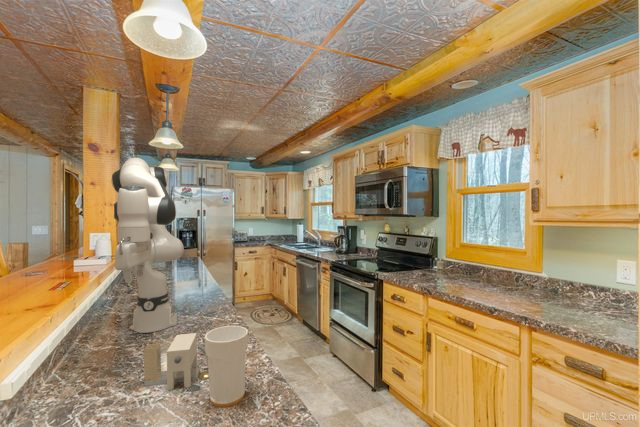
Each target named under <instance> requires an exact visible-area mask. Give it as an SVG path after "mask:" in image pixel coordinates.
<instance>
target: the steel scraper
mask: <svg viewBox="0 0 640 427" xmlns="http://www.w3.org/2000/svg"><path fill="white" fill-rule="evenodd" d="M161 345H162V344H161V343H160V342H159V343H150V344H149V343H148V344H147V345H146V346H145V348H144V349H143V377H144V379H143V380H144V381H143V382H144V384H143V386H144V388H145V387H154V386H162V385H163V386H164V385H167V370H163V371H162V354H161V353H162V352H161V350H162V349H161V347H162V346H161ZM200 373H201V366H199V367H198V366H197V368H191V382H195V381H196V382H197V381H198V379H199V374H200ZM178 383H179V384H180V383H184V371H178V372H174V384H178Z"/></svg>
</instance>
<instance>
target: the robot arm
mask: <svg viewBox="0 0 640 427" xmlns="http://www.w3.org/2000/svg"><path fill="white" fill-rule="evenodd" d="M168 182H169V176H168V173H167V172H166V170H165V169H164V168H163V167H161V166H154V167H153V166H149V164H148V163H147V161H146V160H144V159H142V158H140V157H130V158H128V159H126V160H125V162H124V163H123V165H122V166H121V168H119V169H118V170H116V171H114V172H113V174H112V175H111V185H112V187H113V189H114V191H115V192H116V193H118V194H117V201H115V203H114V204H113V212H114V213H113V219H114V220H116V222H117V221H118V222H117V225H116V226H117V229H116V230H117V243H119V244H117V246H116V247H115V251H114V252H115V255H114V256H115V257H114V268H115V270H116V271H122V275H123V277H124V283H125V284H131V283H132V282H133V281H134V276H135V277H136V282H137V292H138V293H137V294H138V296H137V297H136V298H137V299H136V303H137V304H136V305H137V306H136V307H135V308H134V309H133V321H132V324H131V325H130V326H129V330H132V331H134V332H136V333H141V334H142V333H143V334H144V333H147V334H149V333H154V332H159V331H162V330H165V329H167V328H170V327H171V328H172V327H174V326H177V325H178V312H177V313H176V312H173V304H172V303H171V302H170V301H169V299H170V298H169V297H170V296H169V292H170V291H169V290H168V281H167V276H166V274H165V273H164V272H162V271H159V270H156V269H154V268H152V265H153V264H159V263H167V262H169V263H170V262H173V261H176V260H179V259H181V257H182V256H183V255H184V250H185V248H184V244H183V242H182V240H181V239H179V237H176V236H174V235H172V234H171V232H169V231H168V230H167V228H166V227H165V226H168V225H170V224H171V223H172V222H173V221H174V220H176V216H177V207H176V204H175V202H174V200H173V199H172V198H171V197H170V195H169V193H168V191H167V186H168ZM132 272H133V274H134V276H133V274H132Z"/></svg>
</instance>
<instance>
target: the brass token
mask: <svg viewBox="0 0 640 427" xmlns="http://www.w3.org/2000/svg"><path fill="white" fill-rule="evenodd" d="M198 379H200V380H209V371H208V370H203V371H200V374H199V377H198Z"/></svg>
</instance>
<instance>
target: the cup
mask: <svg viewBox="0 0 640 427" xmlns="http://www.w3.org/2000/svg"><path fill="white" fill-rule="evenodd" d="M204 344H205V353H206V354H205V353H204V354H205V356H206V355H207V356H208V357H207V356H206V357H207V368H208V371H209V379H208V387H209V388H208V390H209V391H208V392H209V401H210V403H211V404H212V405H213V406H215V407H218V408H219V407H220V408H227V407H231V406H233V405H236V404H238V403H240V402H241V401H242V400H243V399H244V397H245V396H246V395H245V394H246V358H247V357H246V353H247V352H246V351H247V350H248V347H249V346H248V345H249V330H248V329H247V328H246V327H245V326H241V325H225V326H219V327H216V328H213V329H210V330H209V331H207V332H206V334H205V335H204Z"/></svg>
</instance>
